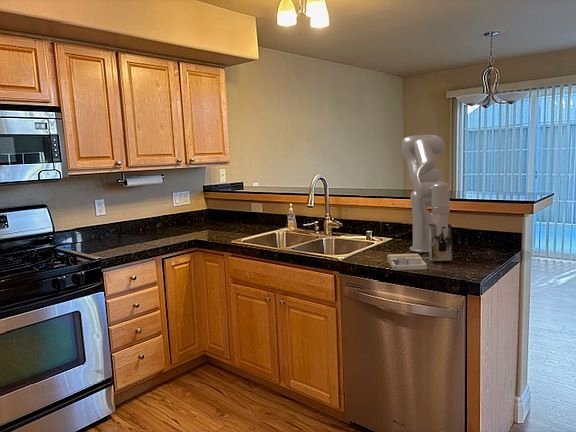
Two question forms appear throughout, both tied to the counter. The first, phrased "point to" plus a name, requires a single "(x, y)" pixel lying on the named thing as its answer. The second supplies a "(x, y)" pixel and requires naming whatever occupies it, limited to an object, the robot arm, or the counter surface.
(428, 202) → the robot arm
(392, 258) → the platform
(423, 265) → the tray
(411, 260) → the offcut
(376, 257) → the counter surface
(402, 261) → the offcut
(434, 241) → the coffee box
